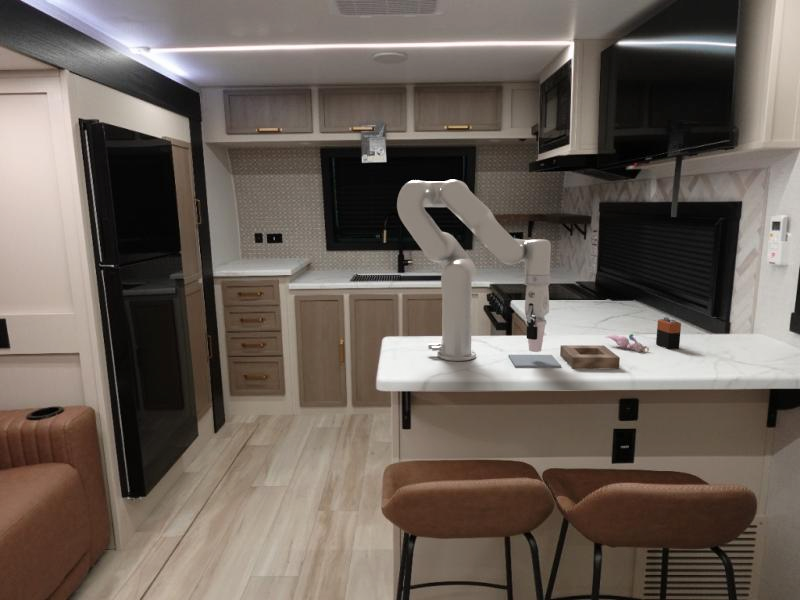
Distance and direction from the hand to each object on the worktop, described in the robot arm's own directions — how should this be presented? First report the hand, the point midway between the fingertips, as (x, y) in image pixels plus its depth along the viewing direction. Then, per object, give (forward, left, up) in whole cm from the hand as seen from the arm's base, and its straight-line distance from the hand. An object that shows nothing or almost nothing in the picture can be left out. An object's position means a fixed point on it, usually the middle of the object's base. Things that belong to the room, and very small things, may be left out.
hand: (535, 336), depth 166 cm
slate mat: (0, 0, -8) cm, 8 cm away
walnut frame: (+17, 0, -8) cm, 19 cm away
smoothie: (0, 0, -5) cm, 5 cm away
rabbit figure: (+35, +17, -9) cm, 39 cm away
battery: (+50, +19, -9) cm, 54 cm away
